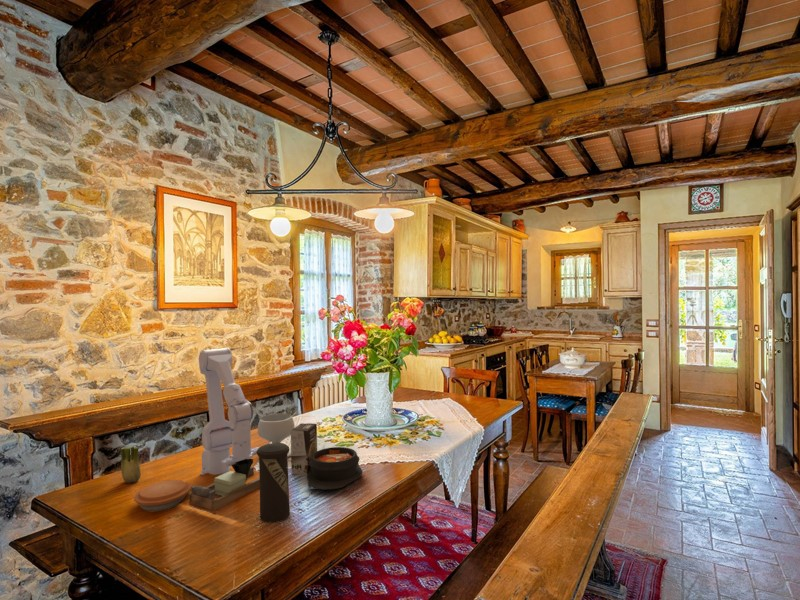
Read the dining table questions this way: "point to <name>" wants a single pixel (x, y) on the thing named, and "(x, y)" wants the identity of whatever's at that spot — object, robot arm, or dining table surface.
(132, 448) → the fennel bulb
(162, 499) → the pie
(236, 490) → the bay
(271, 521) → the container
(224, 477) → the pale green block
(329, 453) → the casserole
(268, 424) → the chalice
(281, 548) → the dining table surface
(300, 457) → the coffee box
